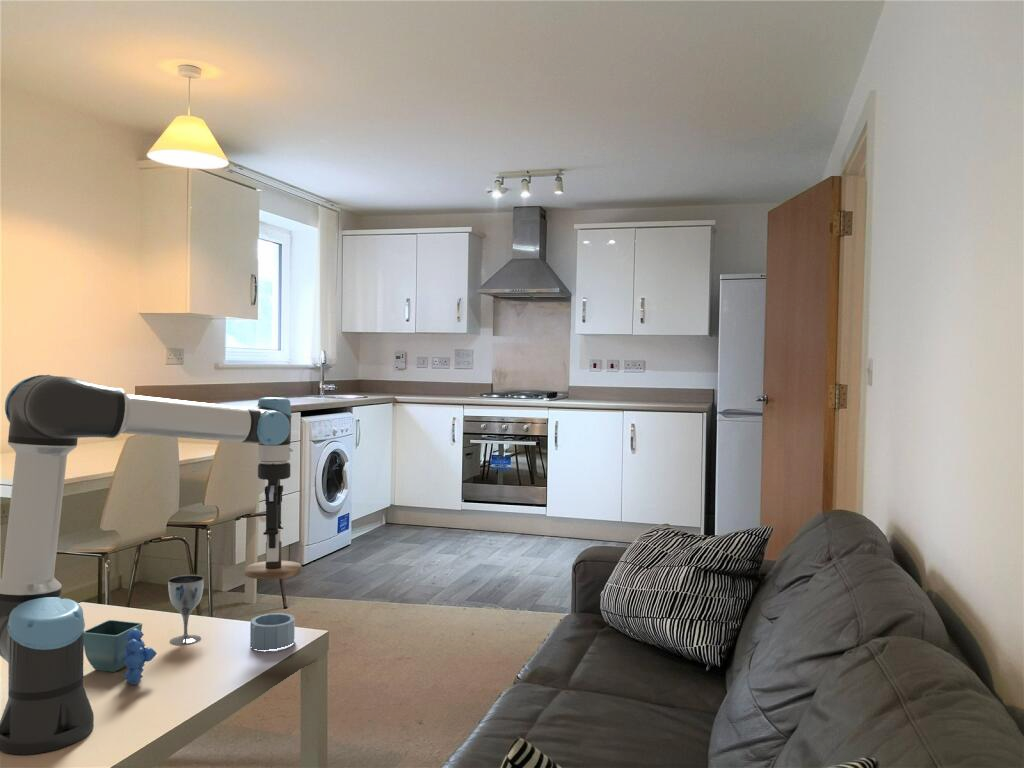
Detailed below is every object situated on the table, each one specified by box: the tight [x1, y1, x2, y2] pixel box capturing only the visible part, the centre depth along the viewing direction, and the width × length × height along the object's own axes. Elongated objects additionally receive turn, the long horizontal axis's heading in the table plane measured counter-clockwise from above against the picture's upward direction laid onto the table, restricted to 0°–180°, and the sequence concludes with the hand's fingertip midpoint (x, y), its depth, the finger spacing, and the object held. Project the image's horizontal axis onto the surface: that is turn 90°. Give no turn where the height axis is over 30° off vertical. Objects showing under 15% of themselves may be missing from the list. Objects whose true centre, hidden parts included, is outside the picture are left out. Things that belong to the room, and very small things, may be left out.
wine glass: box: [167, 574, 205, 646], centre depth 192 cm, size 8×8×15 cm
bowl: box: [249, 612, 296, 650], centre depth 190 cm, size 10×10×6 cm
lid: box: [244, 540, 302, 580], centre depth 190 cm, size 13×13×7 cm
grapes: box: [121, 628, 157, 686], centre depth 166 cm, size 12×7×12 cm, turn 22°
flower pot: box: [84, 619, 143, 673], centre depth 174 cm, size 9×9×9 cm
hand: (273, 558), depth 190 cm, fingers closed on lid, 4 cm apart
